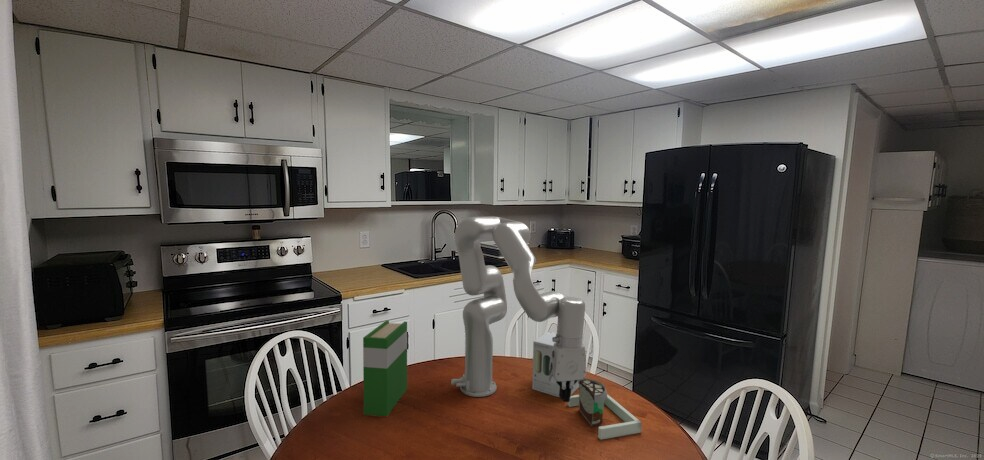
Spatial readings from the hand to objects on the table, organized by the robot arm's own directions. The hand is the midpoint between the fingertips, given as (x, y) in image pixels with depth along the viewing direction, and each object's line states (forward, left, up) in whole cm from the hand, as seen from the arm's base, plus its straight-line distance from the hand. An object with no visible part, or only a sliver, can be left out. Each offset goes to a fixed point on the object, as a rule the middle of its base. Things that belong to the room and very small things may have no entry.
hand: (564, 399), depth 118 cm
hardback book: (-50, +26, -7) cm, 57 cm away
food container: (+10, 0, -7) cm, 13 cm away
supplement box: (+8, +21, -7) cm, 23 cm away
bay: (+12, -1, -7) cm, 14 cm away
